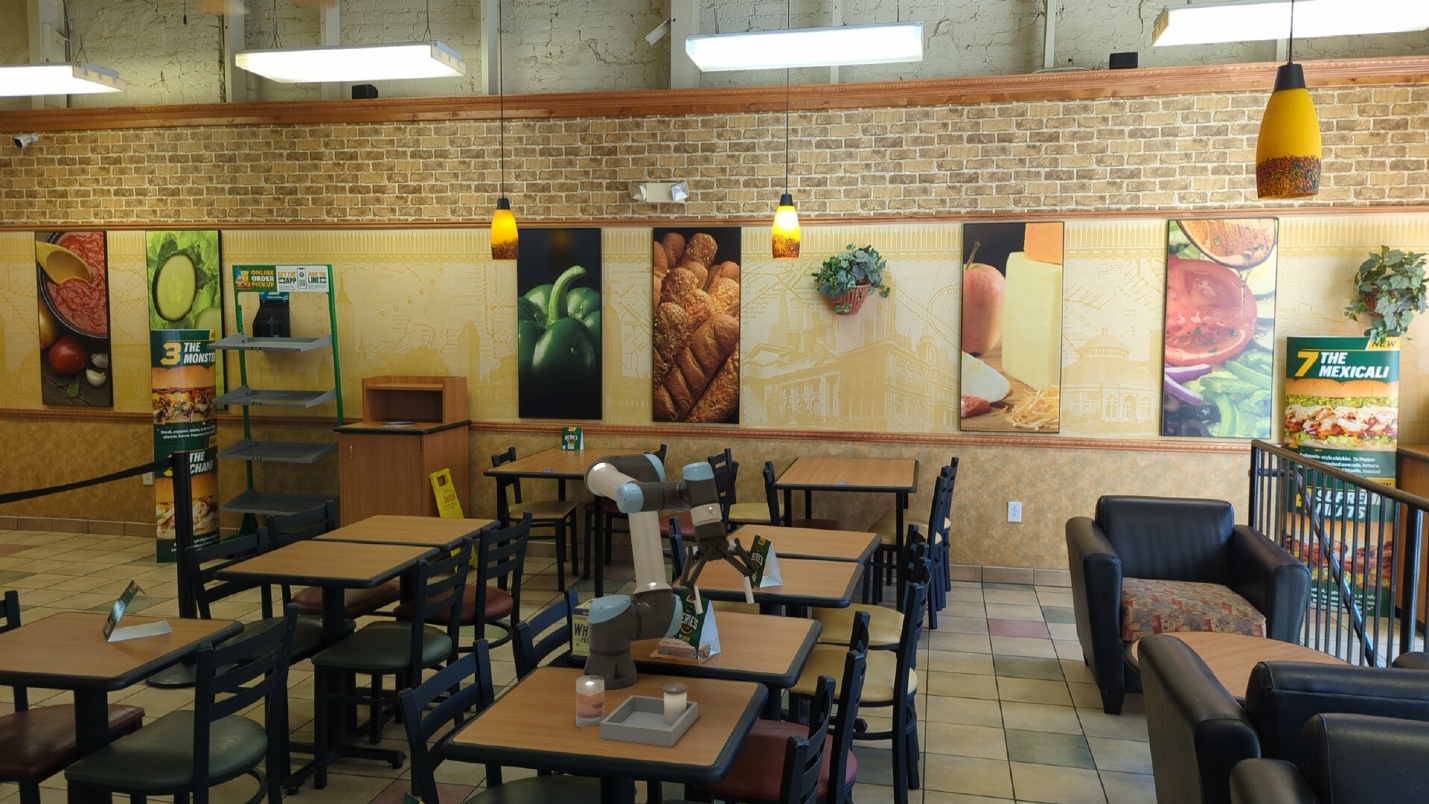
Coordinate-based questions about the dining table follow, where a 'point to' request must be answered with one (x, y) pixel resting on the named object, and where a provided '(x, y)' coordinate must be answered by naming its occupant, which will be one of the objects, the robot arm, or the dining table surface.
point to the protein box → (581, 630)
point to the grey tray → (646, 722)
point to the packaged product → (681, 649)
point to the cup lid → (675, 688)
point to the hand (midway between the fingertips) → (725, 608)
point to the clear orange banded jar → (590, 700)
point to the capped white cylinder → (674, 707)
